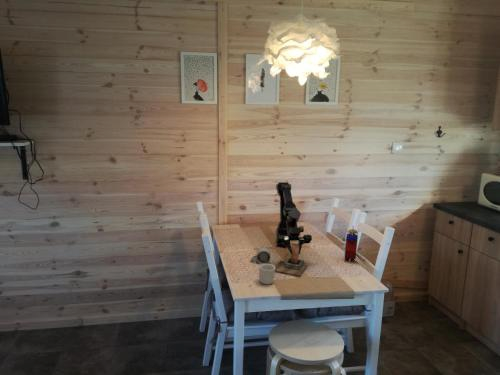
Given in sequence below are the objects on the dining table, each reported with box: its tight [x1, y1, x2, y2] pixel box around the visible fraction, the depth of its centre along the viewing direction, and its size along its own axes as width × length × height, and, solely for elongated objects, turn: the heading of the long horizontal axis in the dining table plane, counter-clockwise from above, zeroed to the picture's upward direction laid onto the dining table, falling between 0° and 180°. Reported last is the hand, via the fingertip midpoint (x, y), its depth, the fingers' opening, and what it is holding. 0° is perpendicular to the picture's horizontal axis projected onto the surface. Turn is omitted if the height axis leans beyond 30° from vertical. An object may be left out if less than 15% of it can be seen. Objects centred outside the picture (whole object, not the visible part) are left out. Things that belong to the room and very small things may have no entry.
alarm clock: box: [341, 225, 359, 263], centre depth 225 cm, size 15×9×20 cm, turn 163°
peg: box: [290, 243, 300, 265], centre depth 210 cm, size 4×4×11 cm
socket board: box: [274, 257, 308, 278], centre depth 209 cm, size 15×14×4 cm
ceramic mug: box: [250, 246, 272, 265], centre depth 218 cm, size 11×8×8 cm
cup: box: [258, 263, 276, 285], centre depth 195 cm, size 11×8×8 cm
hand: (295, 253), depth 208 cm, fingers closed on peg, 4 cm apart
